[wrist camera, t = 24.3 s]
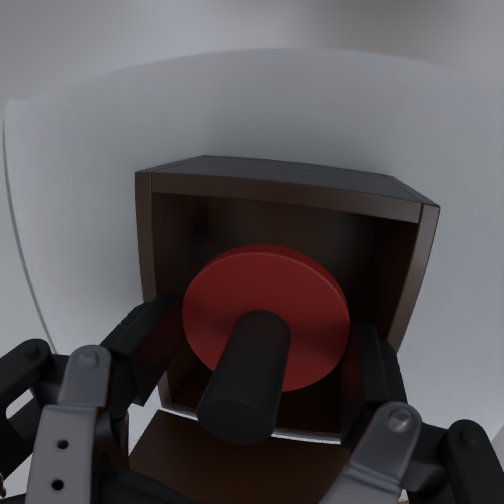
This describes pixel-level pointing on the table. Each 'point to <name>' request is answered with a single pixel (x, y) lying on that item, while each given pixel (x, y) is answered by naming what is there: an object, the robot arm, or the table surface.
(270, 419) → the red lid
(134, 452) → the chest lid
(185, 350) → the chest
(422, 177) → the table surface
